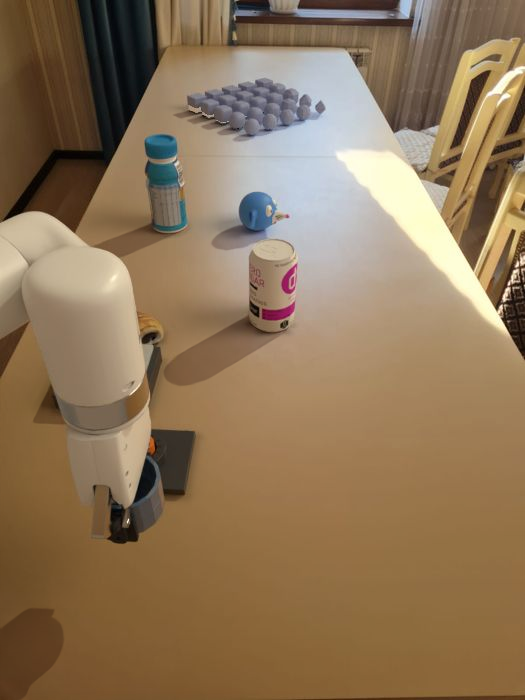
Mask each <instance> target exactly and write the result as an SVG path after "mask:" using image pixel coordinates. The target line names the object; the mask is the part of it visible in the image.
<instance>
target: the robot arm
mask: <svg viewBox="0 0 525 700" xmlns="http://www.w3.org/2000/svg"><path fill="white" fill-rule="evenodd" d="M136 311H137V307H136V301H135V293H134V288H133V283H132V278H131V275H130V272H129V270H128V267H127V266H126V264H125V263H124V262H123V260H121V259H120V258H119V257H118V256H117V255H116V254H114V253H112V252H111V251H108V250H105V249H102V248H99V247H95V246H90V245H89V244H88V243H86V242H85V241H84V240H83V239H81V238H80V237H79V236H78V235H77V234H75V233H74V231H72V230H71V229H70V228H69V227H68V226H67V225H65V224H64V223H63V222H61V220H59V219H57V218H56V217H54V216H52V215H51V214H49V213H46V212H43V211H38V210H36V211H35V210H32V211H25V212H23V213H22V212H21V213H20V214H17V215H14V216H12V217H10V218H7V219H5V220H4V221H1V222H0V340H1V339H4V338H5V337H7V336H8V335H10V334H11V333H13V332H15V331H16V330H18V329H19V328H20V327H23V326H24V325H26V324H27V323H29V322H30V324H31V327H32V331H33V333H34V337H35V340H36V342H37V345H38V349H39V351H40V354H41V356H42V360H43V363H44V367H45V369H46V372H47V376H48V379H49V382H50V383H51V386H52V390H53V392H54V393H55V396H56V399H57V402H58V405H59V408H60V409H59V411H60V414H61V417H62V419H63V421H64V423H65V424H67V425H66V426H67V427H66V431H65V434H66V435H65V436H66V448H67V456H68V462H69V467H70V473H71V476H72V480H73V483H74V487H75V491H76V494H77V498H78V499H79V500H78V501H79V502H80V504H81V506H82V507H83V508H84V507H85V508H93V510H92V521H91V532H90V537H91V539H99V540H108V541H111V543H113V544H117V545H125V544H127V543H137V542H138V541H139V538H140V533H139V534H138V530H137V526H136V521H135V517H134V516H132V515H130V505H131V504H132V503H133V500H134V498H135V494H136V491H137V487H138V484H139V480H140V476H141V472H142V469H143V465H144V461H145V457H146V455H147V456H150V457H151V452H147V451H149V447H150V435H151V429H152V421H151V413H150V407H149V408H148V405H149V402H150V403H151V401H150V391H149V385H148V379H147V373H146V367H145V360H144V354H143V348H142V342H141V336H140V330H139V324H138V318H137V312H136ZM149 406H150V405H149ZM151 458H152V457H151ZM111 505H121V513H119V512H111Z"/></svg>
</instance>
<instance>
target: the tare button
mask: <svg viewBox="0 0 525 700" xmlns="http://www.w3.org/2000/svg"><path fill="white" fill-rule="evenodd" d="M154 451H155V446H154V441H153V438H152V437H151V436H150V447H149V451H147V452H151V455H152V454H153V453H154Z"/></svg>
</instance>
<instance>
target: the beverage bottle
mask: <svg viewBox="0 0 525 700" xmlns="http://www.w3.org/2000/svg"><path fill="white" fill-rule="evenodd" d="M143 145H144V150H145V155H146V158H148V160H147V161H146V163H145V166H144V175H145V176H146V179H145V188H146V190H147V197H148V203H149V210H150V219H151V225H152V228H153V230H155V231H156V232H158V233H161V234H175V233H178V232H179V233H180V232H181V231H183V230H185V228H187V226H188V216H187V208H186V194H185V186H186V183H185V177H184V176H183V173H184V169H183V166H182V163H181V162H180V159H178V158H177V156H178V152H179V151H178V150H179V149H178V141H177V138H176V136H174V135H172V134H168V133H167V134H166V133H156V134H152V135H149V136H147V137H146V138H145V139H144V143H143Z"/></svg>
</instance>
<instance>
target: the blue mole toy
mask: <svg viewBox="0 0 525 700" xmlns="http://www.w3.org/2000/svg"><path fill="white" fill-rule="evenodd" d="M277 205H278V204H277V202H276V200H275V199H273V198H272V197H271V195H269V194H268V193H265V192H264V191H263V192H262V191H252V192H249V193H247V194H245V196H243V198H242V199H241V201H240V203H239V206H238V217H239V220H240V222H241V223H242V225H243V226H244V227H245V228H247V229H248V230H251V231H257V232H258V231H259V232H260V231H263V230H266V229H268V228H269V227H271V226H273V225H275V224H277V221H278V222H280V221H282V220H284V219H290V217H291V215H290V214H289V213H285V212H282V211H280V210H278V208H277Z"/></svg>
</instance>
